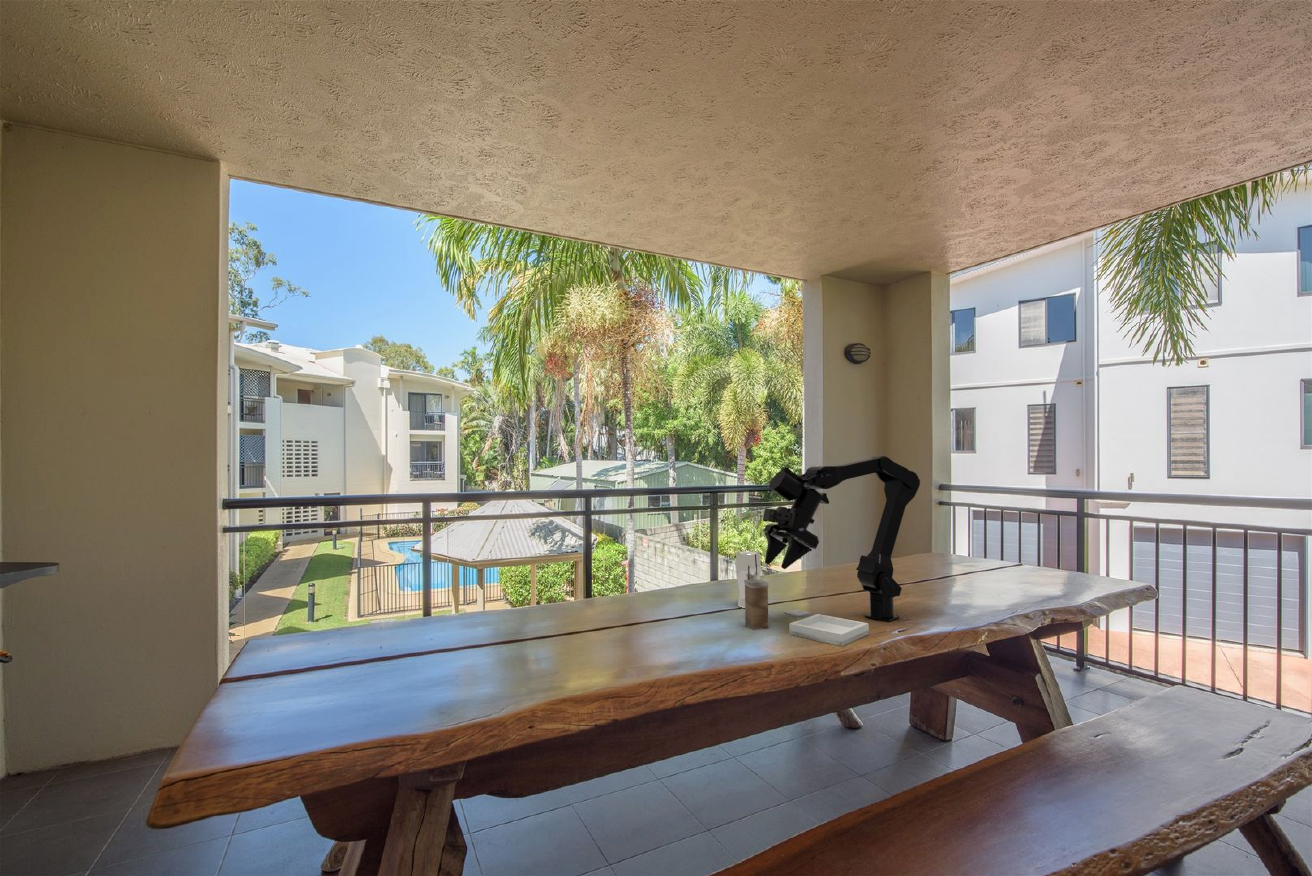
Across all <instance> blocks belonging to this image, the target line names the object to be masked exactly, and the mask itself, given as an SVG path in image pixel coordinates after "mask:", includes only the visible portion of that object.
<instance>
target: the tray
mask: <svg viewBox="0 0 1312 876" xmlns="http://www.w3.org/2000/svg"><path fill="white" fill-rule="evenodd" d="M788 625H789V626H788V627H789V632H788V633H789V635H790V636H794V635H795V636H794V637H798V638H799V637H800V638H804V639H807V640H808V639H809V640H813V641H816V642H821V643H825V644H829V645H834V646H837V647H838V646H840V647H843V646H846V645H848V644H850V643H853V642H855V641H857V640H859V639H862V638H864V637H866V636H869V635H870V633H869V630H870V629H869V627H870V626H869V623H867V622H862V621H857V620H851V619H846V618H842V617H837V616H831V615H825V614H820V613H816V614H814V615H811V616H808V617H804V618H800V619H799V620H796V621H792V622H790V623H789V624H788Z"/></svg>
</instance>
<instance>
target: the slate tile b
mask: <svg viewBox="0 0 1312 876" xmlns="http://www.w3.org/2000/svg"><path fill="white" fill-rule="evenodd" d="M783 614H785V615H784V616H786V615H788V616H787V617H790V616H791V618H794V619H797V618H799V619H804V618H807V617H810V616H812V613H811V612H808V611H805V610H801V609H791V610H785V611H783Z"/></svg>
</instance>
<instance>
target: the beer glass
mask: <svg viewBox="0 0 1312 876" xmlns="http://www.w3.org/2000/svg"><path fill="white" fill-rule="evenodd" d="M761 566H762V564H761V553H760V552H758V551H749V550H748V551H745V550H744V551H737V552H736V558H735V575H736V583H737V587H738V601H737V607H738V606H740V607H742V608H741V609H743V608H745V585H744V580H751V579H761V572H762V571H761V569H762V567H761Z"/></svg>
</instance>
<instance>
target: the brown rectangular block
mask: <svg viewBox="0 0 1312 876" xmlns="http://www.w3.org/2000/svg"><path fill="white" fill-rule="evenodd" d="M744 585H745V610H744V614H745V615H744V618H745V619H744V620H745V621H744V622H745V626H746V627H748V626H749V627H750V628H749V627H748V628H749V629H751V630H761V629H760V628H765V629H769V581H766V580H764V579H762V578H760V579H751V580H744Z"/></svg>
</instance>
